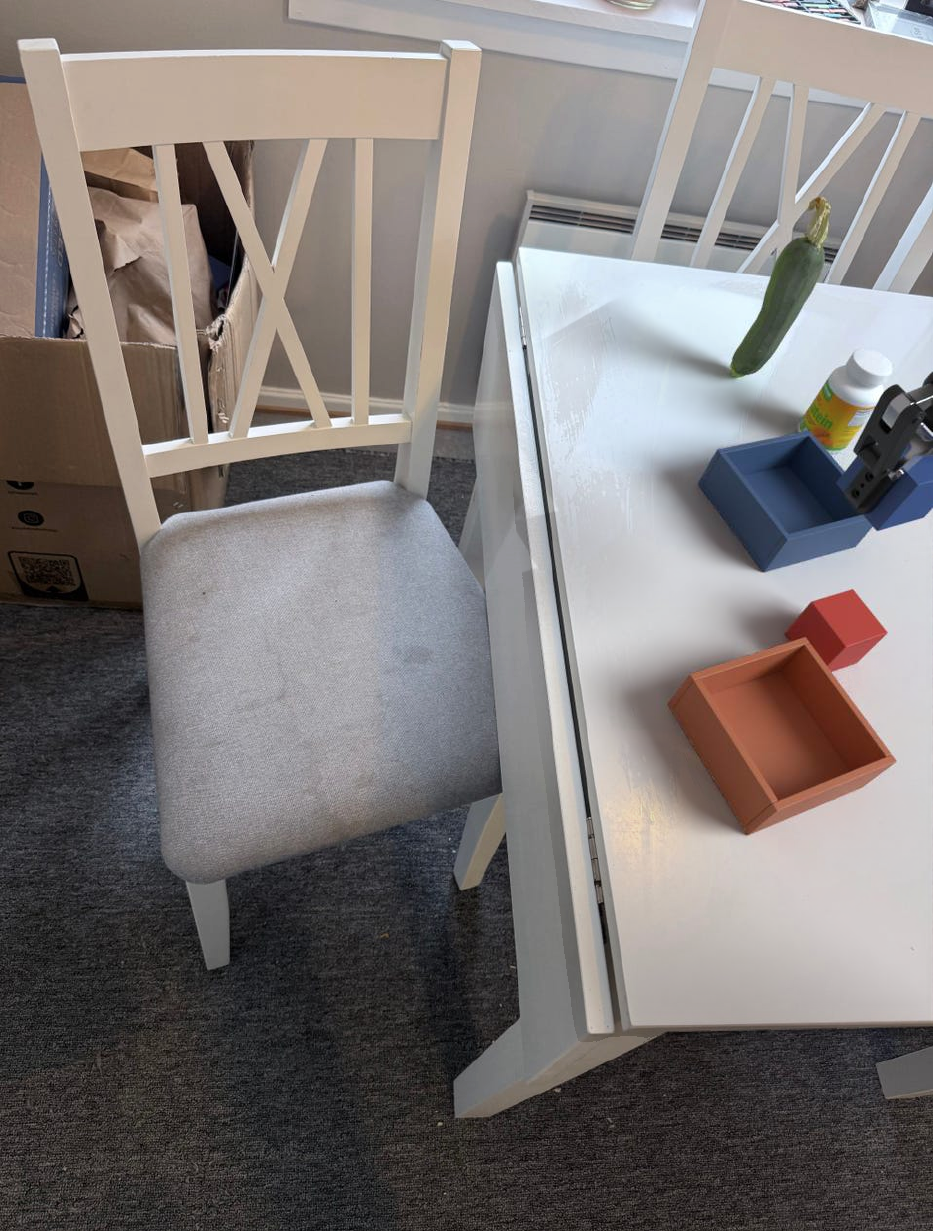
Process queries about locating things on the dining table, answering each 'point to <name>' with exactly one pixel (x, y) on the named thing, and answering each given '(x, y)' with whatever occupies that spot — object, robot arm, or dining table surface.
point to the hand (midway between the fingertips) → (883, 496)
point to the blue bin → (783, 500)
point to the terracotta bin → (778, 733)
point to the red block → (838, 629)
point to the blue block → (899, 493)
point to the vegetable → (785, 293)
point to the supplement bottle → (846, 400)
